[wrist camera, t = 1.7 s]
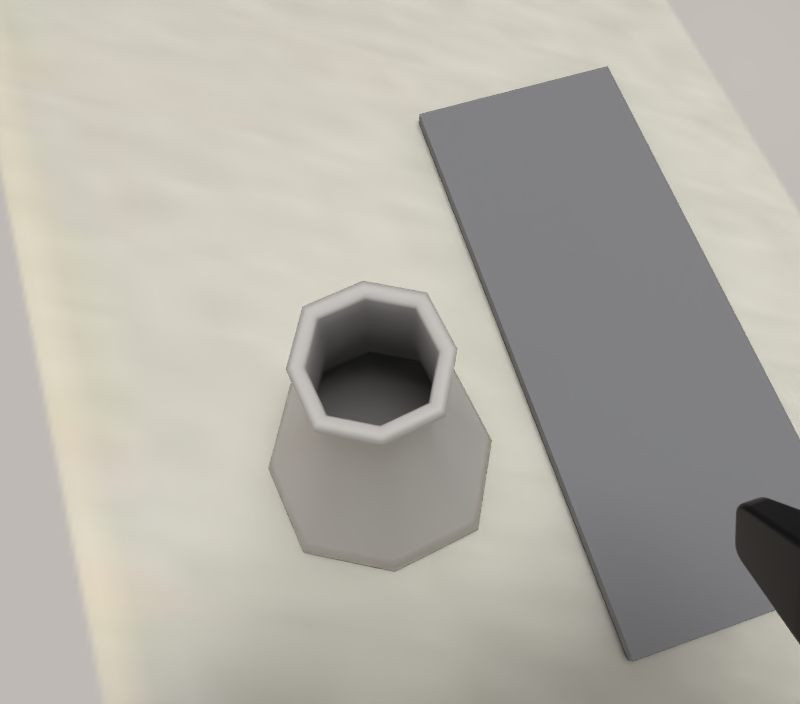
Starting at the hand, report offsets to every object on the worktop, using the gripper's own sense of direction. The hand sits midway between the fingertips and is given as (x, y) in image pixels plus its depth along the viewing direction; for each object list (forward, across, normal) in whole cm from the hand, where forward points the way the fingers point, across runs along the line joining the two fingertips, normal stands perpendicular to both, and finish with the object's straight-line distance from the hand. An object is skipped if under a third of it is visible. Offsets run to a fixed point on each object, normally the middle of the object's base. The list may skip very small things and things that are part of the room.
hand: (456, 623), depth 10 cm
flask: (+12, 0, +5) cm, 13 cm away
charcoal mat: (+13, -9, +3) cm, 16 cm away
